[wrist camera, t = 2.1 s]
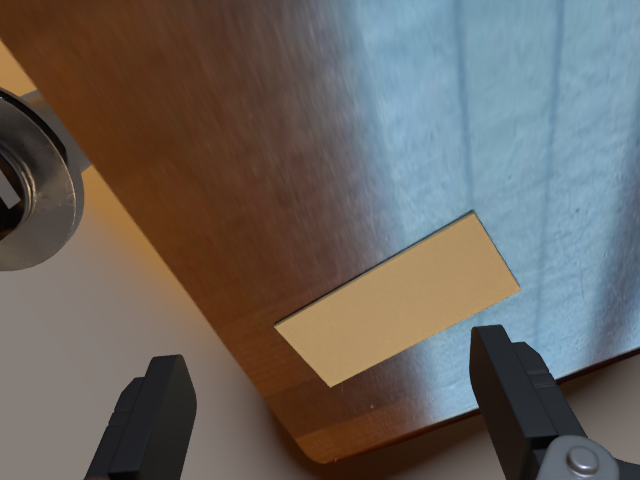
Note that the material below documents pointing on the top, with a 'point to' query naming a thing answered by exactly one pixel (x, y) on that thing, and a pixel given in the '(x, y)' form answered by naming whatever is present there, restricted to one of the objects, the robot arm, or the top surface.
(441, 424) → the top surface
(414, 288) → the board
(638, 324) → the top surface
